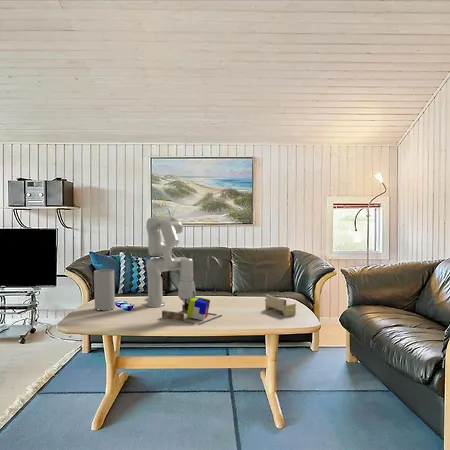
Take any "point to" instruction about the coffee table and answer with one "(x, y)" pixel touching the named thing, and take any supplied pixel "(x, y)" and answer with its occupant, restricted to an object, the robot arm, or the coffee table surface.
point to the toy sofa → (280, 305)
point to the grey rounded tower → (104, 289)
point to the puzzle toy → (198, 308)
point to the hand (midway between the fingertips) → (187, 309)
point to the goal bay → (204, 321)
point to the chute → (174, 314)
